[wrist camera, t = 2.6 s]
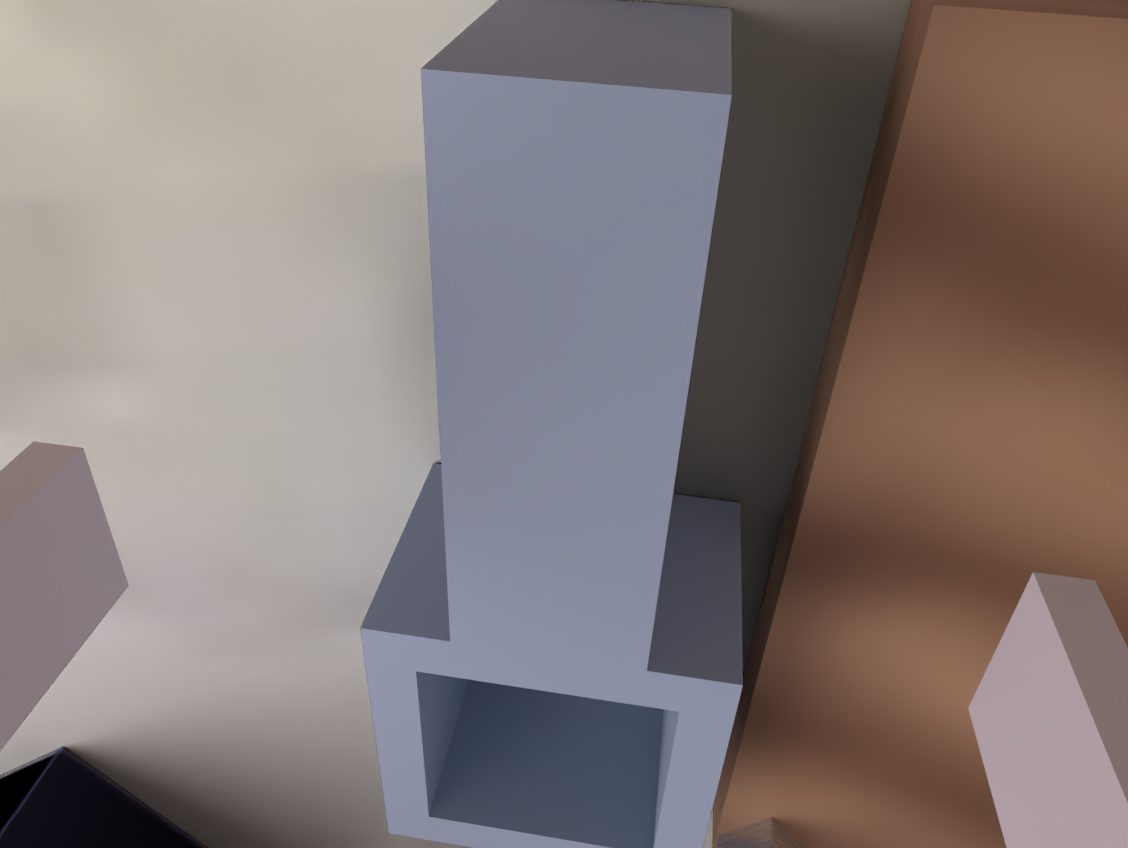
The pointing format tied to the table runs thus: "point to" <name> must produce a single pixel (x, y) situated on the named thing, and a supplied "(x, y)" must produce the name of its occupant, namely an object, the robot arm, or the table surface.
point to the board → (949, 429)
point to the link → (564, 445)
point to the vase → (77, 809)
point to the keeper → (759, 836)
